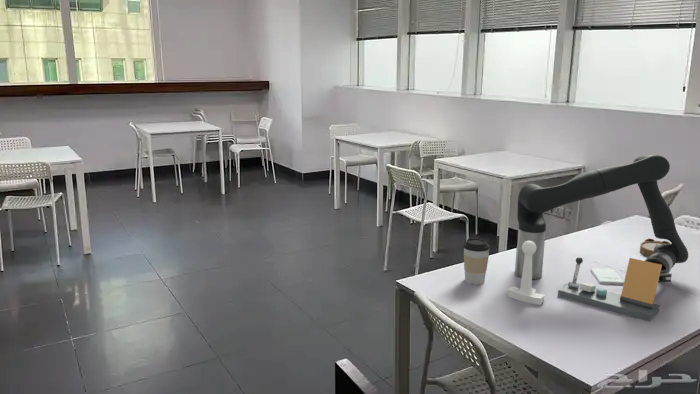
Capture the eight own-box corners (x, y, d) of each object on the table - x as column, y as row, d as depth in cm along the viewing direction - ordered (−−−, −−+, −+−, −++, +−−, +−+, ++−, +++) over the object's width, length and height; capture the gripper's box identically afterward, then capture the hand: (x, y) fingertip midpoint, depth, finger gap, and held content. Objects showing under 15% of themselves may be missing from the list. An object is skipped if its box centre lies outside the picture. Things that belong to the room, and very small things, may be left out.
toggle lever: (567, 286, 184) (574, 256, 184) (569, 286, 186) (576, 256, 186) (576, 288, 182) (583, 258, 182) (578, 289, 184) (585, 258, 184)
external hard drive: (613, 273, 204) (624, 286, 192) (590, 272, 205) (599, 285, 193) (613, 269, 203) (625, 282, 191) (590, 268, 205) (600, 280, 193)
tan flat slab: (619, 300, 174) (629, 257, 174) (620, 300, 175) (630, 257, 175) (651, 309, 167) (661, 264, 168) (652, 309, 169) (662, 264, 169)
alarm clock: (638, 248, 220) (644, 233, 231) (636, 259, 222) (643, 243, 233) (670, 254, 214) (675, 237, 225) (668, 265, 216) (673, 248, 227)
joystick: (506, 296, 182) (510, 239, 178) (516, 289, 188) (520, 233, 183) (539, 306, 175) (544, 246, 171) (548, 298, 181) (553, 240, 176)
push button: (594, 294, 178) (595, 290, 178) (598, 292, 180) (598, 287, 180) (604, 297, 176) (604, 292, 176) (607, 294, 178) (608, 290, 178)
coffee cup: (492, 280, 196) (495, 240, 193) (479, 287, 190) (481, 246, 186) (470, 274, 202) (472, 234, 199) (456, 281, 196) (458, 240, 192)
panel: (557, 295, 183) (558, 289, 183) (569, 286, 190) (570, 281, 190) (649, 321, 165) (650, 315, 164) (659, 310, 172) (660, 304, 171)
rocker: (579, 289, 181) (580, 283, 181) (584, 287, 184) (584, 282, 184) (590, 292, 178) (591, 286, 178) (595, 290, 182) (596, 285, 181)
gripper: (637, 250, 188) (620, 264, 175) (681, 260, 179) (666, 274, 166) (634, 271, 189) (617, 286, 177) (678, 281, 181) (663, 298, 168)
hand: (641, 280), depth 172 cm, fingers closed
